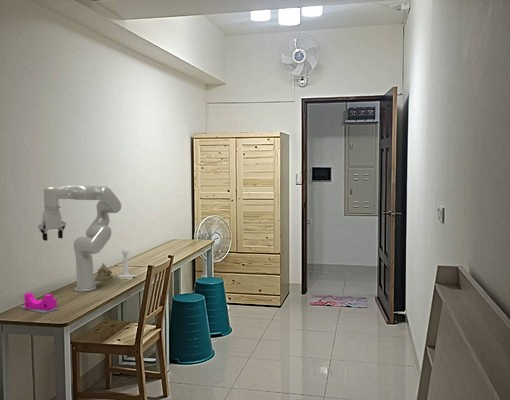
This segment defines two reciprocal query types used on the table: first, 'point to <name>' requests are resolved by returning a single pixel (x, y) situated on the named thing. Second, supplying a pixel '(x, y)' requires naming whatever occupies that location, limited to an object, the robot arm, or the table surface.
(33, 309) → the mat
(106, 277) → the ceramic model
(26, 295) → the toy block
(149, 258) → the table surface
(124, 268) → the joystick
